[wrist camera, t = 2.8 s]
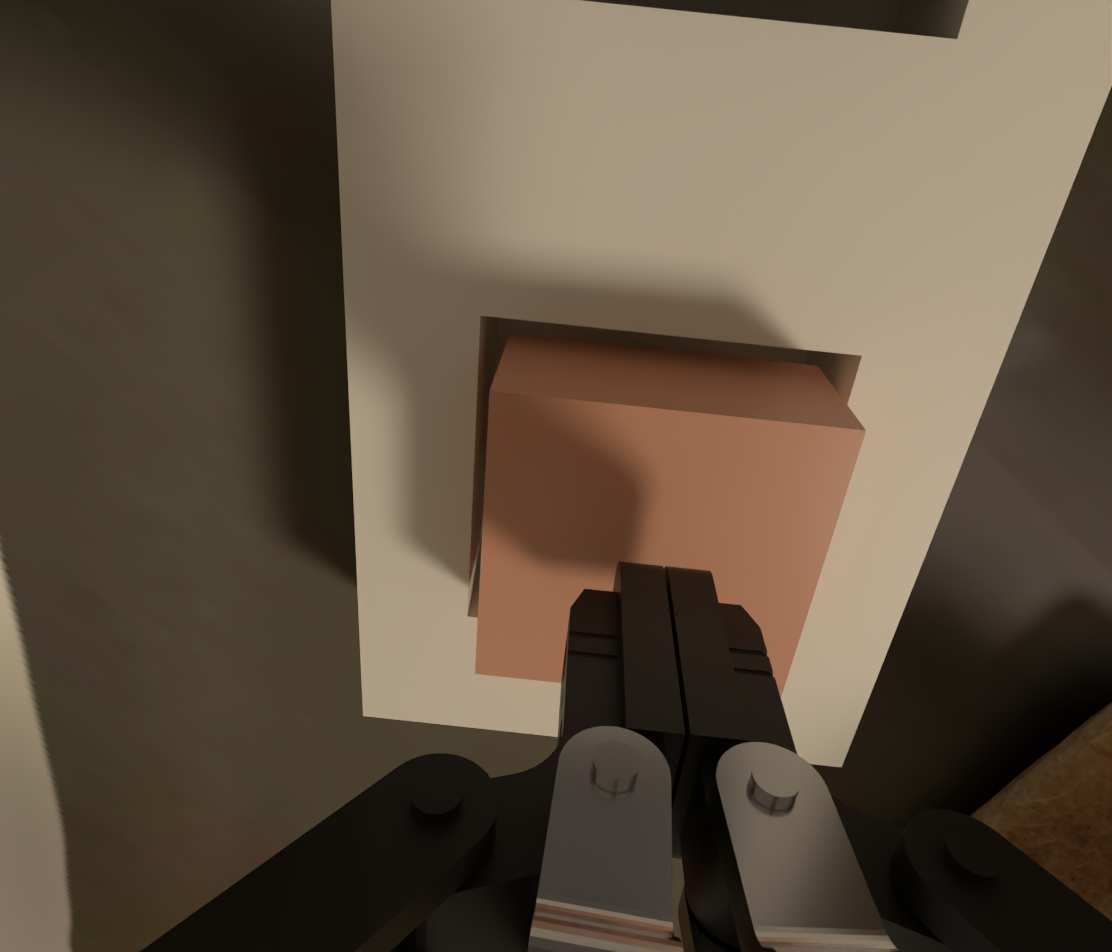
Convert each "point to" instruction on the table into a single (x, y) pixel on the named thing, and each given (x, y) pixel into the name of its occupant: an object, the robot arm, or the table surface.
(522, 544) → the terracotta key
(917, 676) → the table surface
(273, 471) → the table surface
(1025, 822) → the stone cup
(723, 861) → the robot arm
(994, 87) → the key console
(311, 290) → the table surface
